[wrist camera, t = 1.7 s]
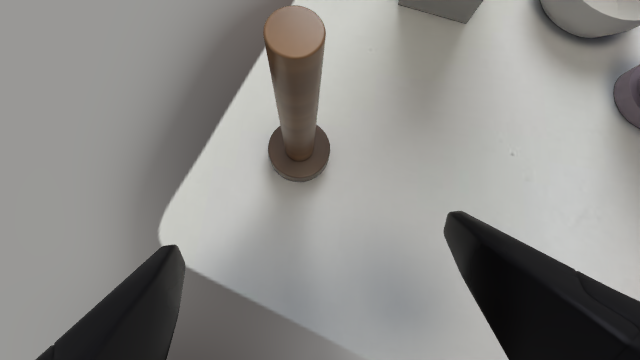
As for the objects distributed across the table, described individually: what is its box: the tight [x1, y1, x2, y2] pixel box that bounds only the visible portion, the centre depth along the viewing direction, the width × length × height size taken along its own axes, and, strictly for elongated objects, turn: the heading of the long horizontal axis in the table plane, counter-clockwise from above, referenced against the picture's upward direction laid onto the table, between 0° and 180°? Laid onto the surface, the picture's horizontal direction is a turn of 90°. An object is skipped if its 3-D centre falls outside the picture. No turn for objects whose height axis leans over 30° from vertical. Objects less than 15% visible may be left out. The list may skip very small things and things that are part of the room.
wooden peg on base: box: [263, 6, 330, 182], centre depth 17 cm, size 5×5×14 cm
